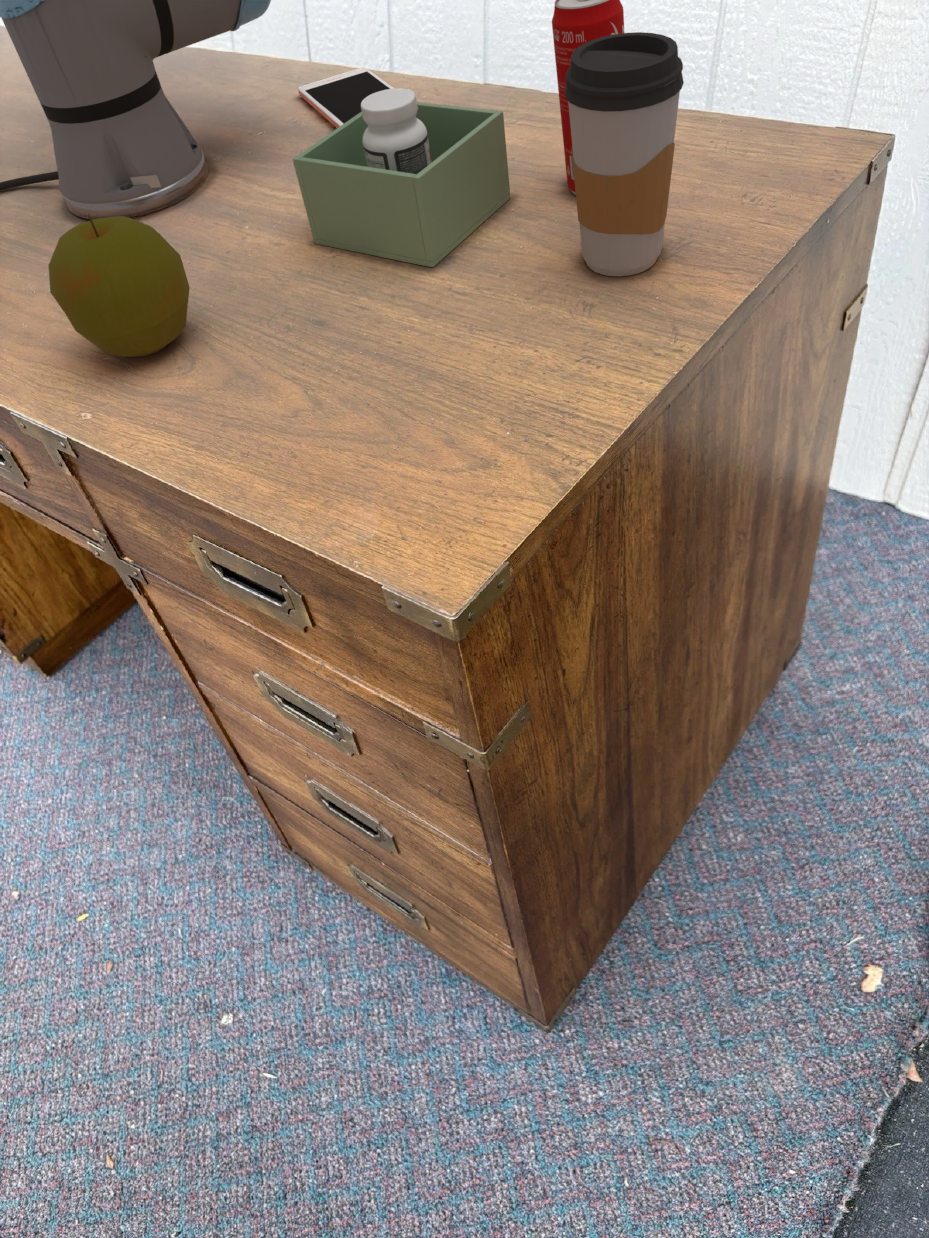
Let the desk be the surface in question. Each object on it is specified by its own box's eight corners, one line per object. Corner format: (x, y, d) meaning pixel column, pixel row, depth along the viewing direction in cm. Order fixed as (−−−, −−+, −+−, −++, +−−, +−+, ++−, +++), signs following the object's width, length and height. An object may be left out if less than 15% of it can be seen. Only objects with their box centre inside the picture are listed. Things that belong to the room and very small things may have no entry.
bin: (314, 243, 80) (292, 159, 75) (396, 180, 87) (381, 98, 81) (433, 268, 75) (418, 178, 69) (510, 198, 81) (503, 111, 76)
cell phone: (351, 142, 94) (349, 133, 93) (298, 95, 105) (296, 87, 105) (425, 118, 96) (424, 109, 95) (365, 75, 107) (364, 66, 106)
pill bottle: (438, 198, 82) (421, 81, 75) (440, 226, 78) (422, 106, 71) (379, 207, 83) (355, 91, 75) (377, 235, 79) (353, 117, 71)
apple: (224, 312, 74) (176, 180, 66) (174, 380, 69) (114, 245, 60) (123, 310, 77) (64, 182, 69) (66, 375, 71) (-7, 245, 63)
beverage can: (627, 199, 78) (630, 3, 67) (555, 202, 80) (545, 10, 68) (632, 170, 82) (636, -22, 71) (563, 172, 83) (556, -15, 72)
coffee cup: (606, 224, 76) (606, 25, 64) (693, 245, 72) (708, 36, 60) (550, 270, 72) (539, 66, 61) (638, 294, 68) (643, 81, 57)
